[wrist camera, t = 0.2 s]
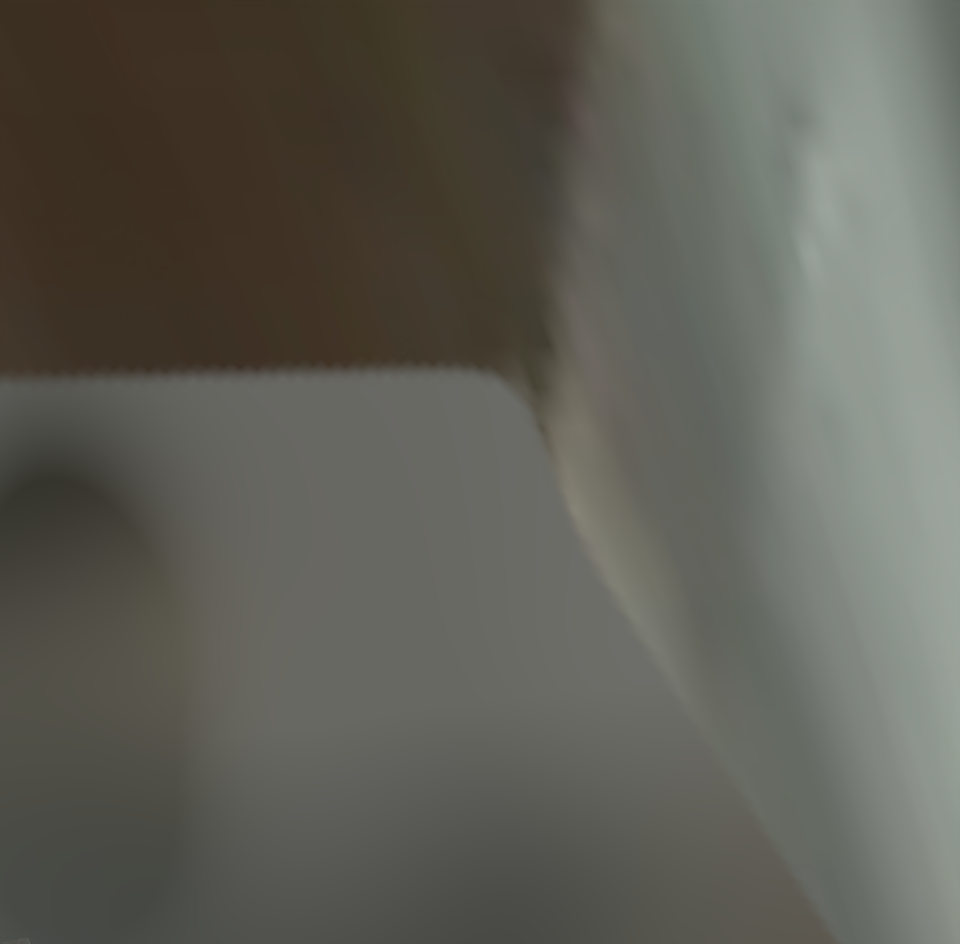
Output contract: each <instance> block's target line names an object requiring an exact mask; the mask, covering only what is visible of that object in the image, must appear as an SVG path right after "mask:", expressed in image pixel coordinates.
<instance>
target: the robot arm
mask: <svg viewBox="0 0 960 944" xmlns="http://www.w3.org/2000/svg"><path fill="white" fill-rule="evenodd" d="M2 944H31V943H30V941H29V940H28V938H23V939H19V940H14V941H10V942H6V943H2Z"/></svg>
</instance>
